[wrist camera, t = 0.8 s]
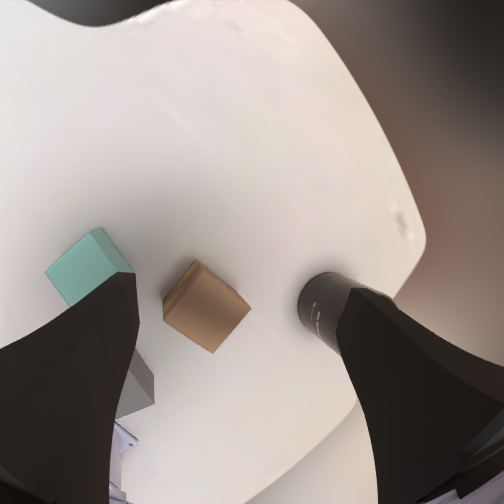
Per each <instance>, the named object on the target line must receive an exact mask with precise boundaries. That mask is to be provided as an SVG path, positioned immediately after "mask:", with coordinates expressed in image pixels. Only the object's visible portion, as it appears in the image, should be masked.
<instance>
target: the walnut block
mask: <svg viewBox="0 0 504 504" xmlns="http://www.w3.org/2000/svg"><path fill="white" fill-rule="evenodd" d="M250 309H251V307H250V306H249V305H248V304H247V303H246V302H245V300H244V299H243V298H242V297H241V296H240V295H239V294H238V293H237V291H235V290H234V289H233V288H231V287H230V286H229V285H228V284H226V283H225V282H224V281H223V280H221V279H220V278H219V277H217V276H216V275H215V274H214V273H212V272H211V271H210V270H209V269H207V268H206V267H205V266H204V265H202V264H201V263H200V262H199V261H198V260H195V261H194V263H193V264H192V265H191V266H190V267H189V269H188V270H187V271H186V272H185V274H184V275H183V276H182V277H181V279H180V280H179V281H178V282H177V284H176V285H175V286H174V287H173V289H172V290H171V291H170V292H169V294H168V295H167V296H166V297H165V299H164V300H163V321H165V322H166V323H167V324H169V325H170V326H172V327H173V328H175V329H176V330H177V331H179V332H180V333H182V334H183V335H185V336H186V337H188V338H189V339H191V340H192V341H194V342H195V343H197V344H198V345H200V346H201V347H203V348H204V349H206V350H207V351H209V352H211V353H212V354H213V353H214V352H215V351H216V350H217V349H218V347H219V346H220V345H221V344H222V343H223V341H224V340H225V339H226V338H227V337H228V336H229V334H230V333H231V332H232V331H233V330H234V329H235V327H236V326H237V325H238V324H239V323H240V321H241V320H242V319H243V318H244V317H245V315H246V314H247V313H248V312H249V311H250Z"/></svg>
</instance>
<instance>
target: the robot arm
mask: <svg viewBox="0 0 504 504" xmlns="http://www.w3.org/2000/svg"><path fill="white" fill-rule="evenodd" d="M139 325H140V321H139V311H138V301H137V289H136V276H135V273H128V272H116V273H115V274H113V275H112V276H110V277H109V278H108V279H107V280H105V281H104V282H103V283H101V284H100V285H99V286H98V287H96V288H95V289H94V290H92V291H91V292H90V293H89V294H87V295H86V296H85V297H83V298H82V299H81V300H80V301H78V302H77V303H76V304H74V305H73V306H71V307H70V308H69V309H67V310H66V311H64V312H63V313H62V314H60V315H59V316H57V317H56V318H55V319H53V320H52V321H50V322H49V323H47V324H45V325H44V326H42V327H41V328H39V329H37V330H35V331H34V332H32V333H30V334H29V335H27V336H25V337H23V338H21V339H19V340H17V341H15V342H13V343H11V344H9V345H7V346H5V347H3V348H1V349H0V504H133V503H131V502H126V492H123V491H121V462H122V453H124V452H125V451H127V450H129V449H131V448H133V447H135V446H137V445H138V441H137V440H136V439H135V438H133V437H132V436H131V435H130V434H128V433H127V432H126V431H125V430H123V429H122V428H121V427H120V426H118V425H117V424H116V423H115V416H116V411H117V407H118V403H119V399H120V396H121V392H122V389H123V386H124V382H125V379H126V376H127V373H128V369H129V366H130V363H131V360H132V357H133V353H134V350H135V346H136V341H137V335H138V330H139ZM335 333H336V338H337V342H338V346H339V350H340V353H341V357H342V359H343V362H344V364H345V367H346V369H347V372H348V374H349V377H350V379H351V382H352V384H353V386H354V389H355V391H356V394H357V396H358V398H359V401H360V404H361V406H362V409H363V412H364V415H365V419H366V422H367V427H368V431H369V435H370V439H371V444H372V450H373V455H374V461H375V469H376V477H377V488H378V504H504V367H503V366H500V365H497V364H494V363H492V362H489V361H486V360H484V359H482V358H479V357H477V356H475V355H473V354H470V353H468V352H466V351H464V350H462V349H460V348H459V347H457V346H455V345H453V344H451V343H449V342H447V341H446V340H444V339H442V338H441V337H439V336H437V335H436V334H435V333H433V332H431V331H430V330H428V329H427V328H425V327H424V326H422V325H421V324H419V323H418V322H416V321H415V320H414V319H412V318H411V317H409V316H408V315H406V314H405V313H404V312H402V311H401V310H399V309H398V308H397V307H395V306H394V305H392V304H391V303H390V302H388V301H387V300H385V299H384V298H382V297H381V296H379V295H378V294H376V293H375V292H373V291H371V290H369V289H367V288H351V291H350V294H349V296H348V299H347V302H346V305H345V308H344V310H343V313H342V316H341V319H340V321H339V324H338V326H337V329H336V332H335Z"/></svg>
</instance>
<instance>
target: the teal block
mask: <svg viewBox="0 0 504 504" xmlns="http://www.w3.org/2000/svg"><path fill="white" fill-rule="evenodd" d="M116 272H128V273H134V271H133V270H132V268H131V267H130V266H129V264H128V263H127V262H126V260H125V259H124V258H123V256H122V255H121V253H120V252H119V251H118V249H117V248H116V246H115V245H114V244H113V242H112V241H111V239H110V238H109V236H108V235H107V234H106V232H105V231H104V229H103V228H102V227H101V228H99V229H96V230H94V231H91V232H89V233H88V234H87V235H85V236H84V237H83V238H82V239H81V240H80V241H78V242H77V243H76V244H75V245H74V246H72V247H71V248H70V249H69V250H68V251H67V252H66V253H64V254H63V255H62V256H61V257H60V258H59V259H58V260H57V261H55V262H54V263H53V264H52V265H51V266H50V267H49V268H48V269H47V270H46V271H45V274H46V275H47V276H48V278H49V279H50V281H51V282H52V283H53V285H54V286H55V288H56V289H57V290H58V292H59V293H60V294H61V296H62V297H63V298H64V300H65V301H66V302H67V304H68V305H69V306H70V307H71V306H73V305H74V304H76V303H77V302H78V301H80V300H81V299H82V298H83V297H85V296H86V295H87V294H89V293H90V292H91V291H92V290H94V289H95V288H96V287H98V286H99V285H100V284H101V283H103V282H104V281H105V280H107V279H108V278H109V277H110V276H112V275H113V274H115V273H116Z"/></svg>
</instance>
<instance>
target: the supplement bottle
mask: <svg viewBox="0 0 504 504" xmlns="http://www.w3.org/2000/svg"><path fill="white" fill-rule="evenodd" d="M351 288H367V289H369V290H371V291H373V292H375V293H376V294H378V295H379V296H381V297H382V298H384V299H385V300H387V301H388V302H390V303H391V304H392V305H394V306H395V307H397V308H398V306H397V304H396V303H395V301H394V300H393V299H392V298H391V297H389V296H388V295H386V294H384V293H382V292H379V291H377V290H375V289H373V288H370V287H368V286H366V285H363V284H361V283H359V282H356V281H354V280H352V279H350V278H347V277H345V276H342V275H340V274H336V273H326V274H323V275H320V276H318V277H316V278H315V279H314V280H312V281H311V282H310V283H309V284H308V285H307V287H306V288H305V290H304V291H303V293H302V295H301V298H300V302H299V314H300V318H301V320H302V322H303V324H304V325H305V326H306V327H307V328H308V329H309V330H310V331H311V332H312V333H313V334H315V335H316V336H317V337H318V338H319V339H321V340H322V341H323V342H324V343H325V344H326V345H328V346H329V347H330V348H331V349H332V350H334V351H335V352H336V353H337V354H338V355H340V356H341V353H340V350H339V346H338V342H337V338H336V333H335V332H336V329H337V326H338V324H339V321H340V319H341V316H342V313H343V310H344V308H345V305H346V302H347V299H348V296H349V294H350V291H351Z"/></svg>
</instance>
